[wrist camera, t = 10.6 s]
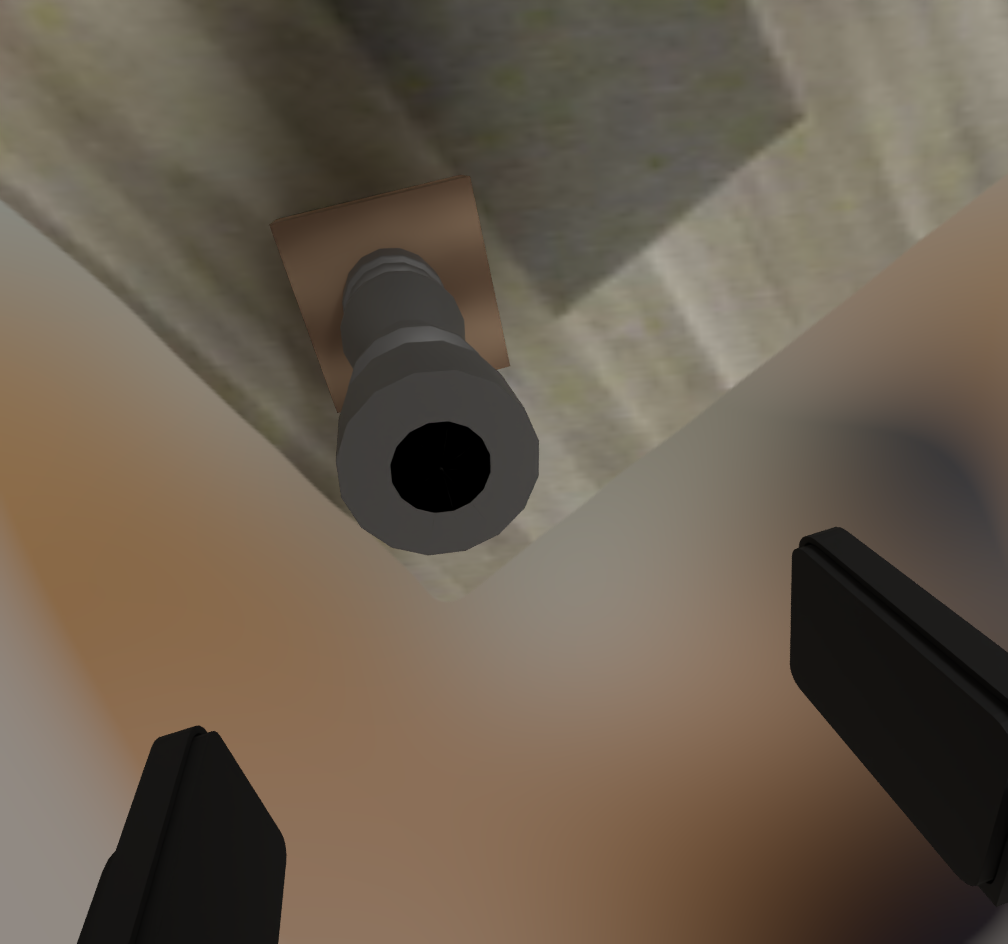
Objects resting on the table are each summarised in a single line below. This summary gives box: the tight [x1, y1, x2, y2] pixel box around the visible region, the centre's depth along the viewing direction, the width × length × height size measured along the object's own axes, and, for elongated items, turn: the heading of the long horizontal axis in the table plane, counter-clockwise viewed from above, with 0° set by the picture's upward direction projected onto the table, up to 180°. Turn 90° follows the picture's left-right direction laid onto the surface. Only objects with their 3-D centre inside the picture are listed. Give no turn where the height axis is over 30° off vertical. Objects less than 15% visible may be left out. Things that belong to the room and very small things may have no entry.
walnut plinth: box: [269, 175, 510, 413], centre depth 41 cm, size 12×12×4 cm
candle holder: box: [336, 248, 539, 555], centre depth 28 cm, size 6×6×25 cm
